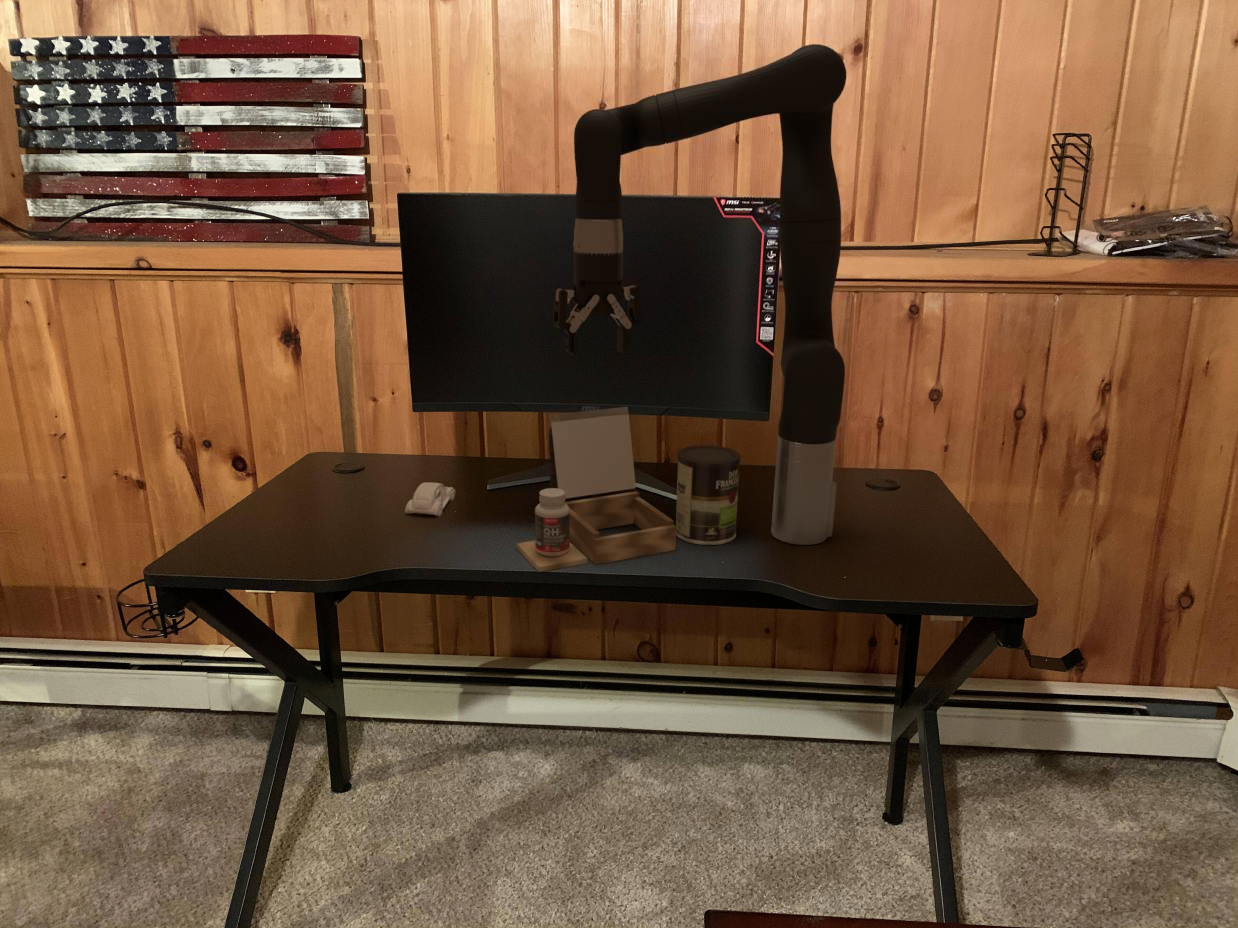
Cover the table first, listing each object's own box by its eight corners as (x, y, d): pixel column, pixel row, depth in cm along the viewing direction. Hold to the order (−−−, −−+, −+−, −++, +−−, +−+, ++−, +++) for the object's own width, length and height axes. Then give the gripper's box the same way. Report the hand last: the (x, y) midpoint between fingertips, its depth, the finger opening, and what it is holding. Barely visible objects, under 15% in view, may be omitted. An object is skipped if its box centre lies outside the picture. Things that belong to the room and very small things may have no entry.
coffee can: (748, 533, 155) (753, 453, 151) (712, 550, 148) (716, 467, 143) (698, 518, 162) (702, 440, 157) (662, 534, 154) (664, 453, 150)
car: (437, 520, 160) (436, 495, 158) (403, 517, 160) (401, 492, 159) (459, 497, 171) (458, 473, 169) (427, 495, 172) (426, 471, 170)
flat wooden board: (562, 540, 151) (562, 535, 151) (587, 563, 142) (587, 558, 142) (516, 548, 148) (516, 543, 147) (539, 572, 139) (539, 567, 139)
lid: (635, 488, 158) (633, 487, 159) (627, 406, 157) (625, 407, 158) (560, 499, 152) (558, 498, 153) (551, 415, 151) (549, 415, 152)
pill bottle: (545, 560, 141) (544, 500, 138) (529, 547, 146) (528, 489, 143) (575, 553, 144) (575, 494, 141) (559, 541, 148) (559, 484, 145)
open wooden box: (636, 520, 160) (636, 491, 158) (675, 549, 148) (676, 518, 146) (561, 532, 154) (561, 502, 152) (596, 564, 142) (596, 531, 140)
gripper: (564, 252, 135) (565, 361, 140) (650, 250, 141) (648, 354, 146) (546, 248, 142) (547, 352, 147) (629, 246, 148) (627, 346, 153)
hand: (597, 353), depth 146 cm, fingers open, 8 cm apart
